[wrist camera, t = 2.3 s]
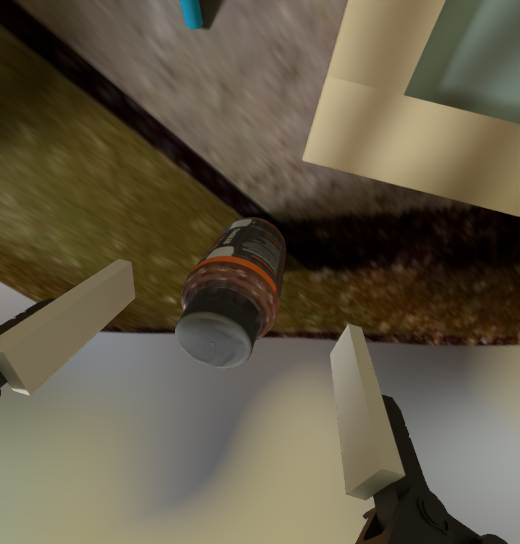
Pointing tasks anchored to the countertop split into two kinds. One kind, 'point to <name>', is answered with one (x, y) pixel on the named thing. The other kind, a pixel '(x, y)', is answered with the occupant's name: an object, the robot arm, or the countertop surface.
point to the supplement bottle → (232, 294)
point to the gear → (192, 13)
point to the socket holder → (425, 99)
